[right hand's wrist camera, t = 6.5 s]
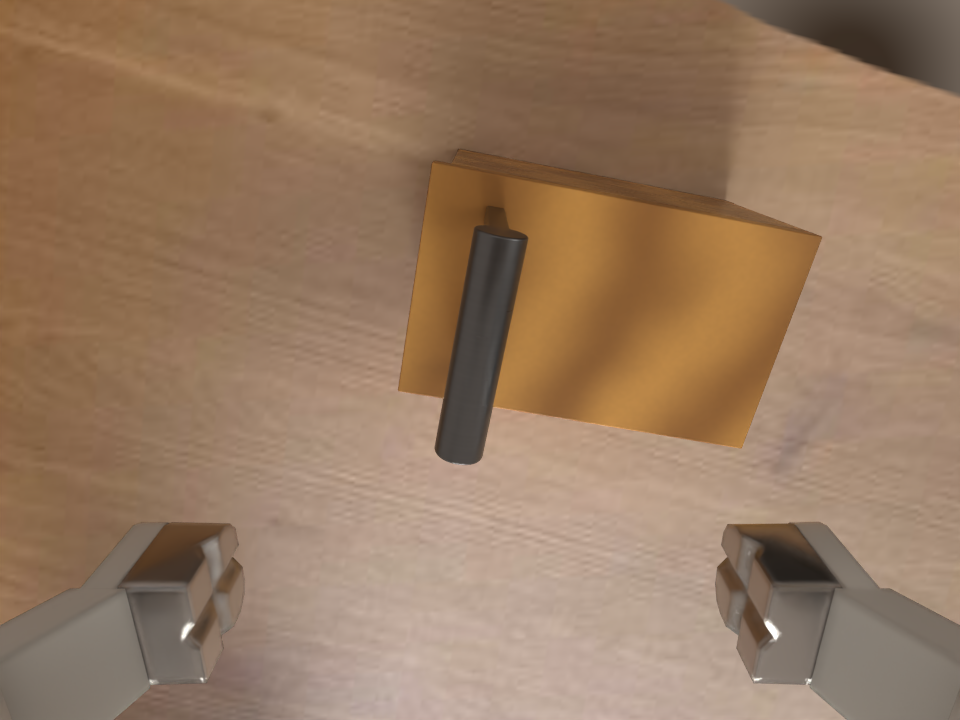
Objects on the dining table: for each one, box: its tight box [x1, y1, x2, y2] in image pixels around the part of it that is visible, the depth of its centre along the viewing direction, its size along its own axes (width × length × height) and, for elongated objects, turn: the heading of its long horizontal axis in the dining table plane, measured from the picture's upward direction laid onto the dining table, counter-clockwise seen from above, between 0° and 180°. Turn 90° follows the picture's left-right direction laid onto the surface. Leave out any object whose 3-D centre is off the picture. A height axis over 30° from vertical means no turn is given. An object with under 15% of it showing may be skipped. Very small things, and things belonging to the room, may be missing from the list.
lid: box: [398, 161, 822, 465], centre depth 23 cm, size 15×9×8 cm, turn 80°
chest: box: [451, 149, 808, 232], centre depth 31 cm, size 15×10×10 cm, turn 80°
